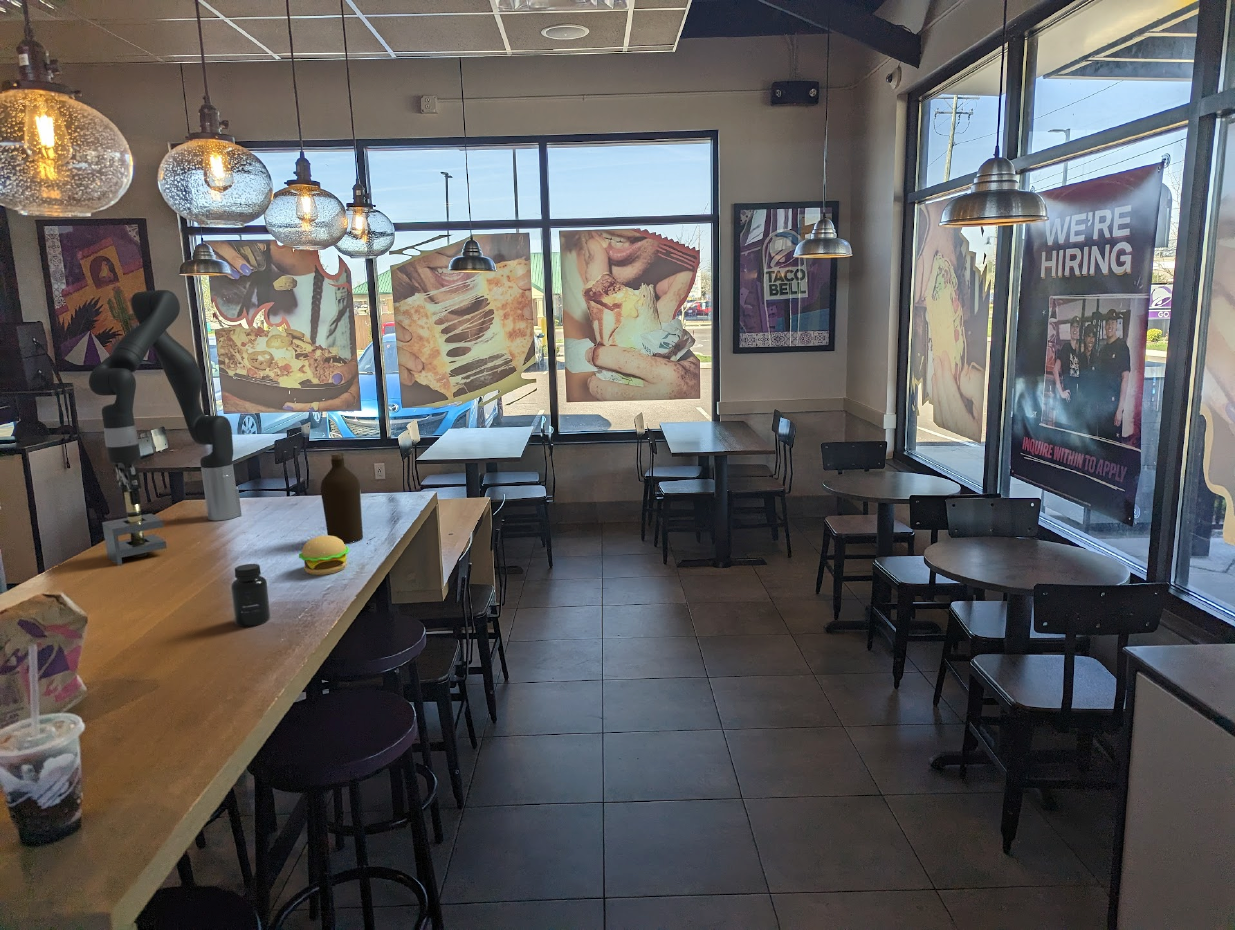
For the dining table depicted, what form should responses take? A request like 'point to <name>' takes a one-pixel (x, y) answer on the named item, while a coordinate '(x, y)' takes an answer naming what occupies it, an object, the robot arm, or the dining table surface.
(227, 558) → the dining table surface
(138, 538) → the brass tube
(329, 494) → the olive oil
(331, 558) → the hamburger
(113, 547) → the collar stand
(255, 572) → the supplement bottle
